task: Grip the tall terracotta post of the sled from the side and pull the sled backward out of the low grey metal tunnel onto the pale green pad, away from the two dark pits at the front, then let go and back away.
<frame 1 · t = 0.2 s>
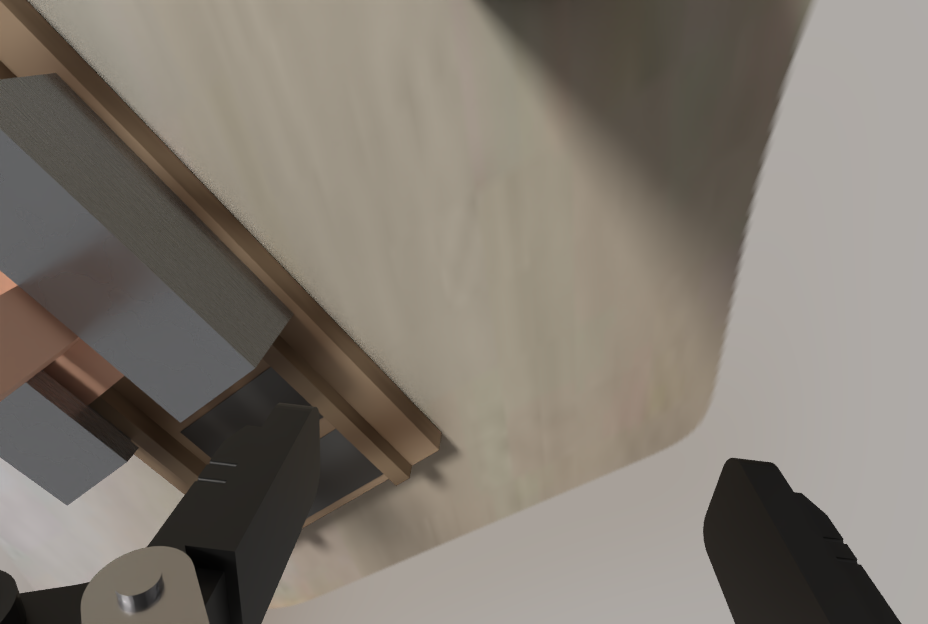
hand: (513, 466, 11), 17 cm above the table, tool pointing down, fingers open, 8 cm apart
tunnel: (114, 274, 30), resting on track board
track board: (114, 274, 30), on the table
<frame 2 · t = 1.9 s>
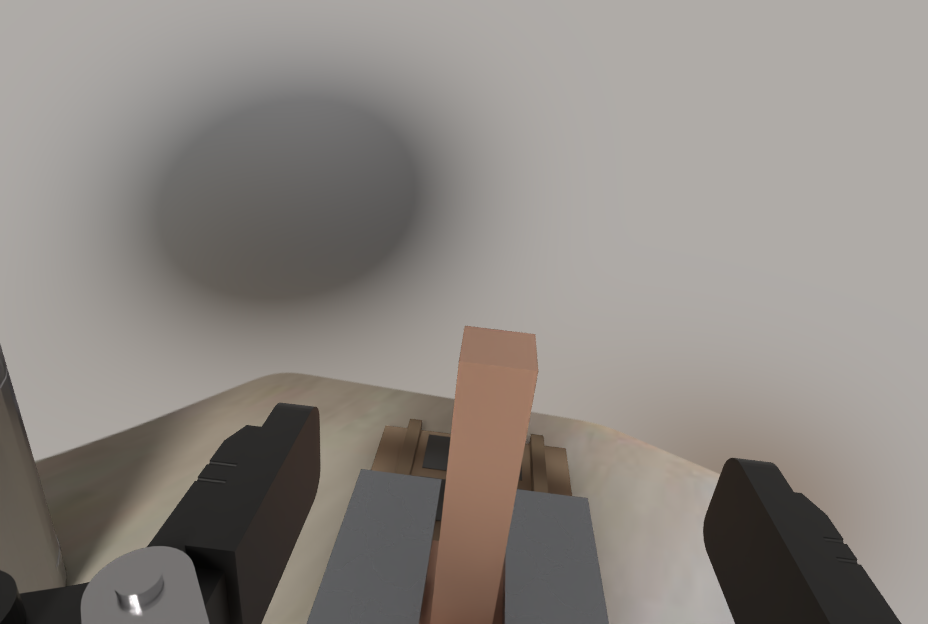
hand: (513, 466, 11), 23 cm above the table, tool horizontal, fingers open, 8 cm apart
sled: (474, 517, 27), point 11 cm above the table, slide at 0.0 cm
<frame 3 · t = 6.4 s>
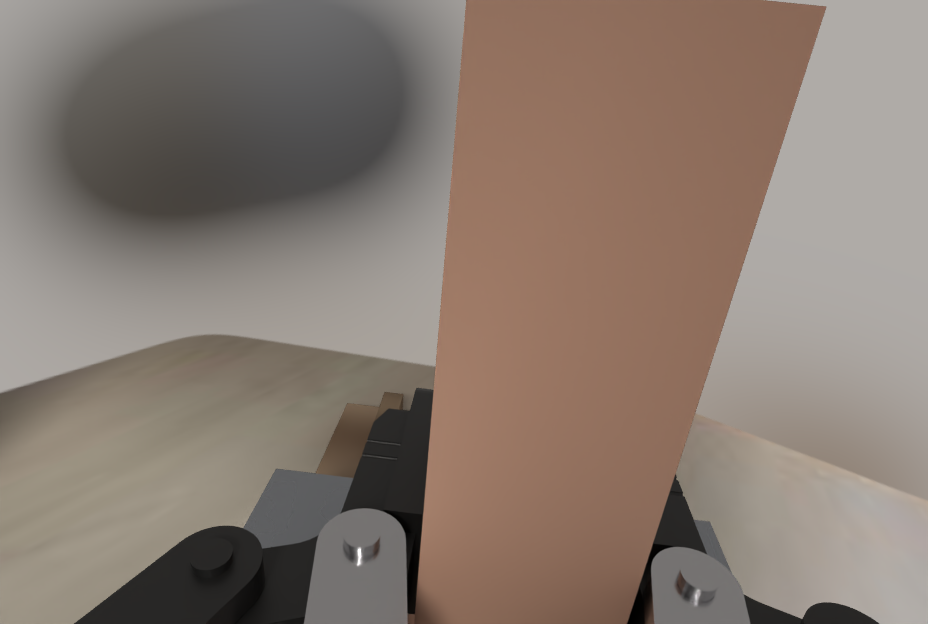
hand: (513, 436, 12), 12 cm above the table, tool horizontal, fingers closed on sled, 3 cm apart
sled: (507, 591, 10), point 11 cm above the table, slide at 0.0 cm, touching gripper
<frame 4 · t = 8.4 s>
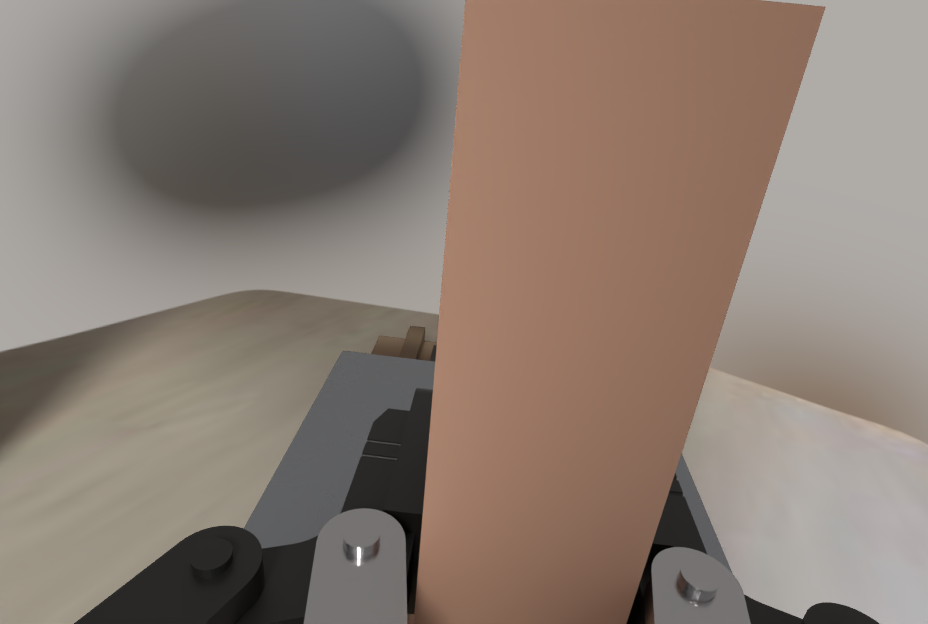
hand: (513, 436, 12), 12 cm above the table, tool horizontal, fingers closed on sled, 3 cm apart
tunnel: (473, 606, 22), resting on track board
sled: (507, 590, 10), point 11 cm above the table, slide at -7.9 cm, touching gripper
track board: (473, 606, 22), on the table
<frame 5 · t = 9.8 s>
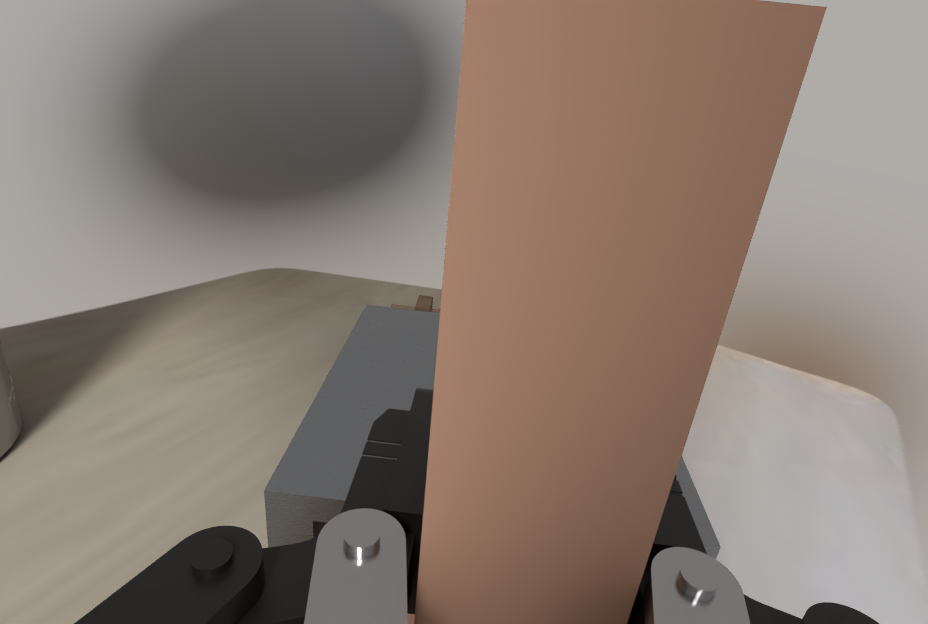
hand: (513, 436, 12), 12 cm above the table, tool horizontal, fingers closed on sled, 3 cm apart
tunnel: (478, 509, 26), resting on track board
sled: (507, 591, 10), point 11 cm above the table, slide at -13.0 cm, touching gripper
track board: (478, 509, 26), on the table
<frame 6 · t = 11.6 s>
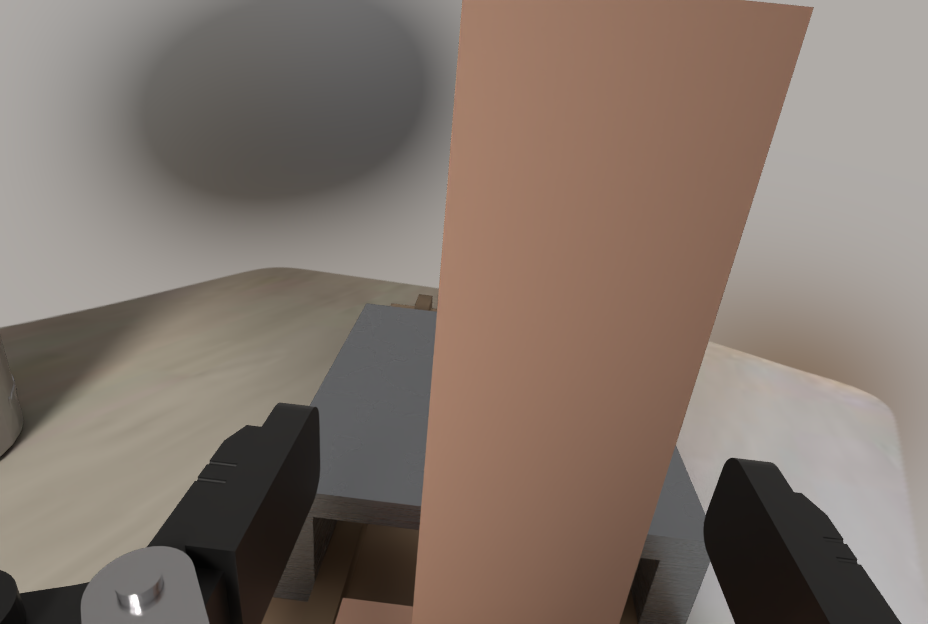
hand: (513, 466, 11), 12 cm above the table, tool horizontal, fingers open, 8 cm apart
tunnel: (477, 507, 26), resting on track board
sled: (505, 584, 10), point 11 cm above the table, slide at -13.0 cm
track board: (477, 507, 26), on the table
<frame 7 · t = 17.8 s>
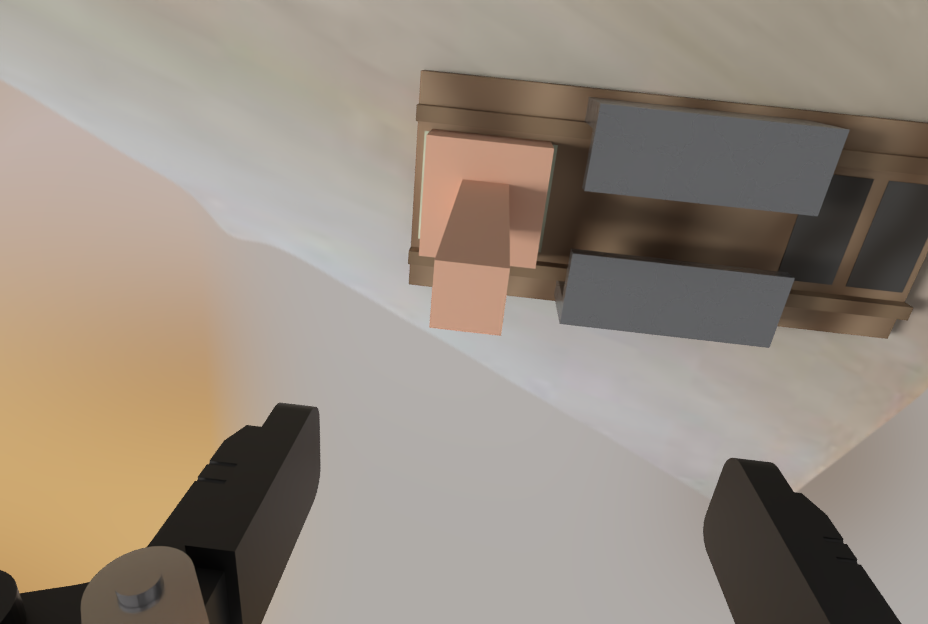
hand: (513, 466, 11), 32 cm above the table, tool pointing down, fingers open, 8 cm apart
tunnel: (665, 208, 41), resting on track board
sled: (478, 232, 31), point 11 cm above the table, slide at -13.0 cm
track board: (665, 208, 41), on the table
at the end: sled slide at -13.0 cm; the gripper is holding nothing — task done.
